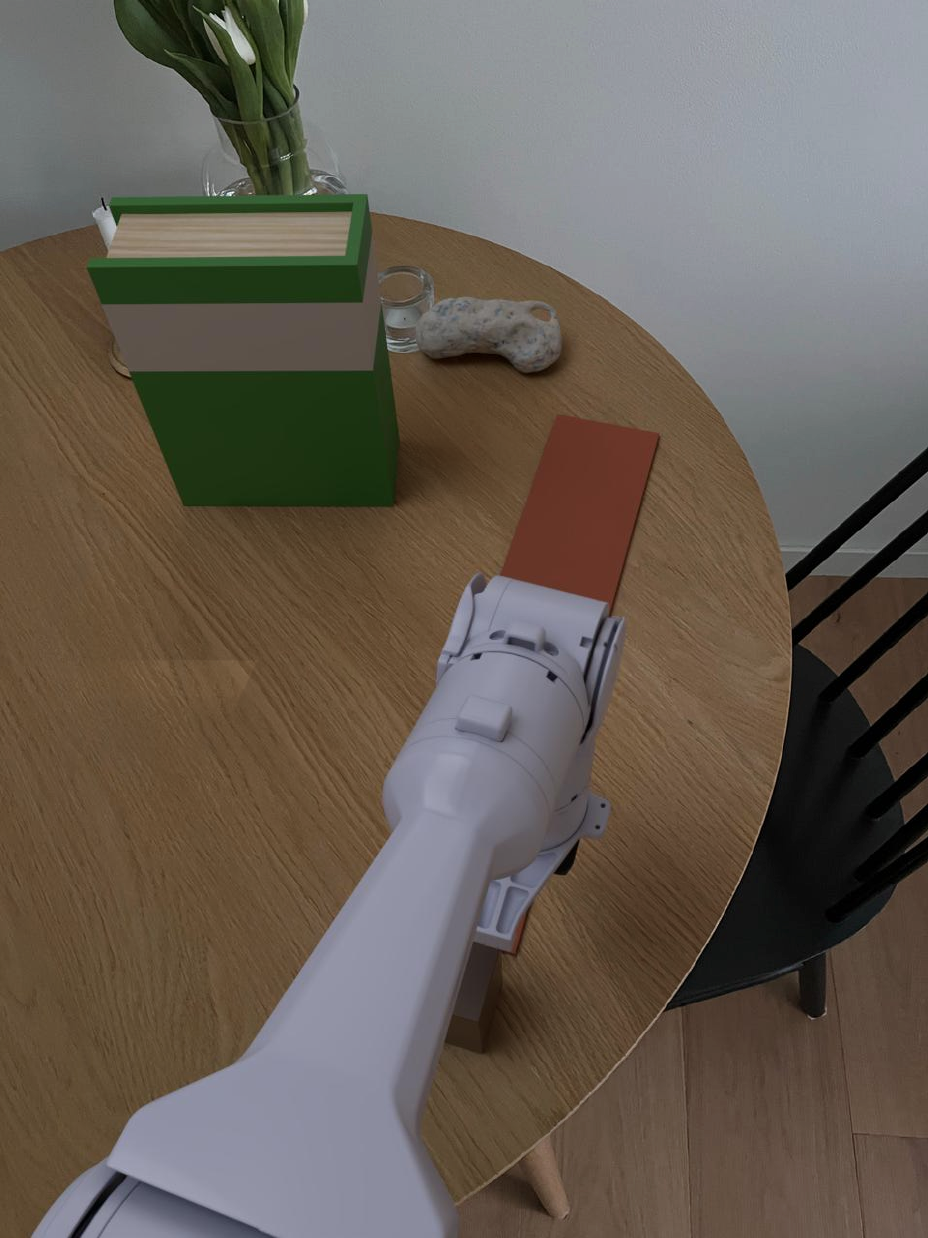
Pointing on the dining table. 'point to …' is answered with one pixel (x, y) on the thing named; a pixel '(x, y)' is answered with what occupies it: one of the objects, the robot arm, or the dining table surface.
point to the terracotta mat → (581, 513)
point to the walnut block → (476, 999)
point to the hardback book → (256, 345)
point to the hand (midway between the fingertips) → (528, 864)
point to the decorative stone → (491, 331)
